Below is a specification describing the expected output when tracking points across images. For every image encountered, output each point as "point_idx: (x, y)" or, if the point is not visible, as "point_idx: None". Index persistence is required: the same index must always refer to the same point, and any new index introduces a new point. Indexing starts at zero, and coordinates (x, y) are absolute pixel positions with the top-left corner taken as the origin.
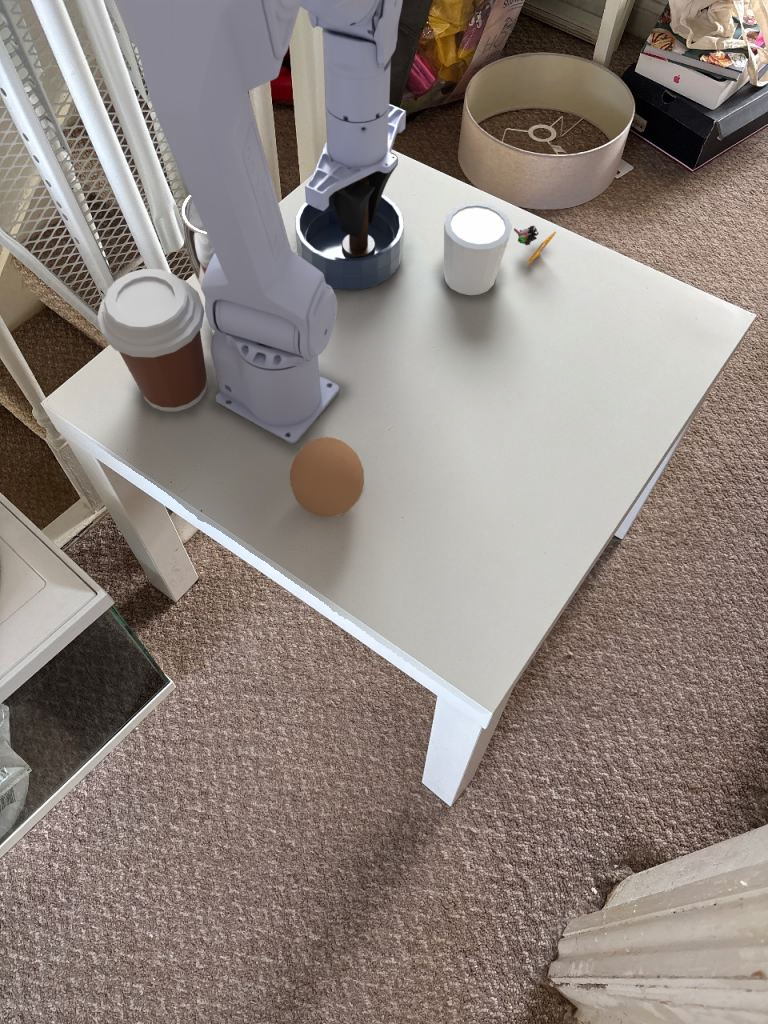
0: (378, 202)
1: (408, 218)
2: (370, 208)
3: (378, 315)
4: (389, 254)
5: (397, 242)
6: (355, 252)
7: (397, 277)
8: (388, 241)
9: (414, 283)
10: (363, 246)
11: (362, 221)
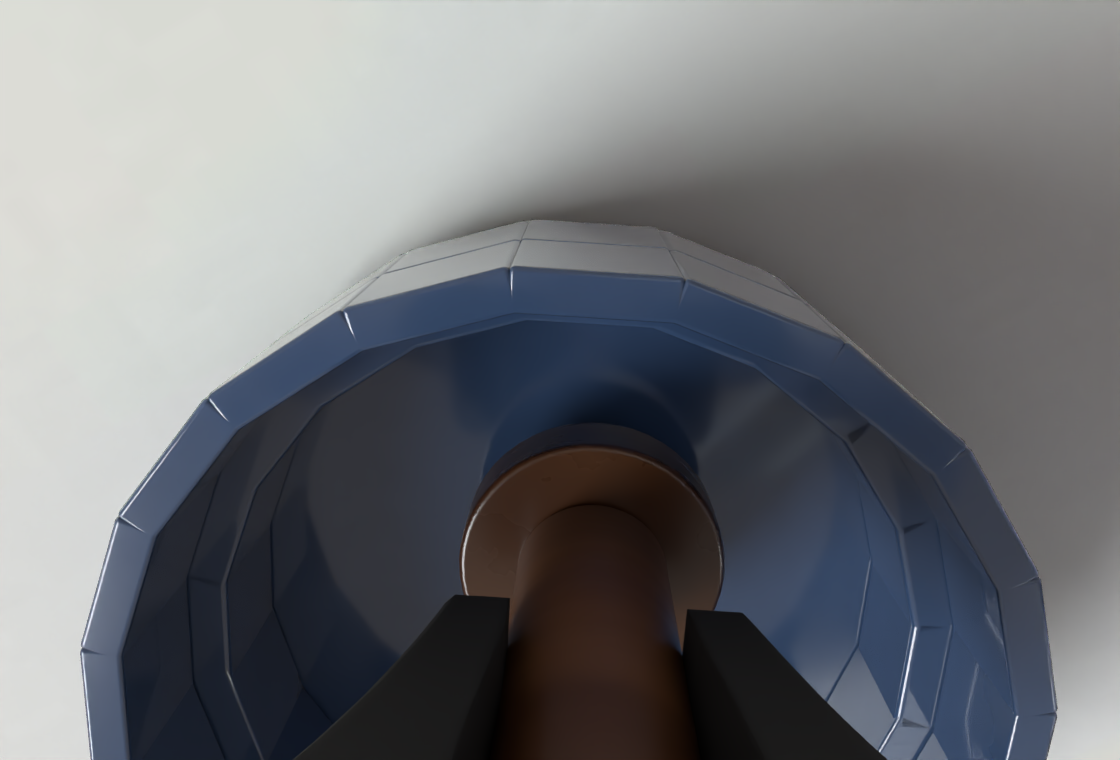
0: (409, 692)
1: (27, 401)
2: (488, 711)
3: (995, 129)
4: (695, 272)
5: (562, 267)
6: (692, 546)
7: (584, 190)
8: (335, 408)
9: (574, 45)
10: (632, 524)
11: (767, 696)
